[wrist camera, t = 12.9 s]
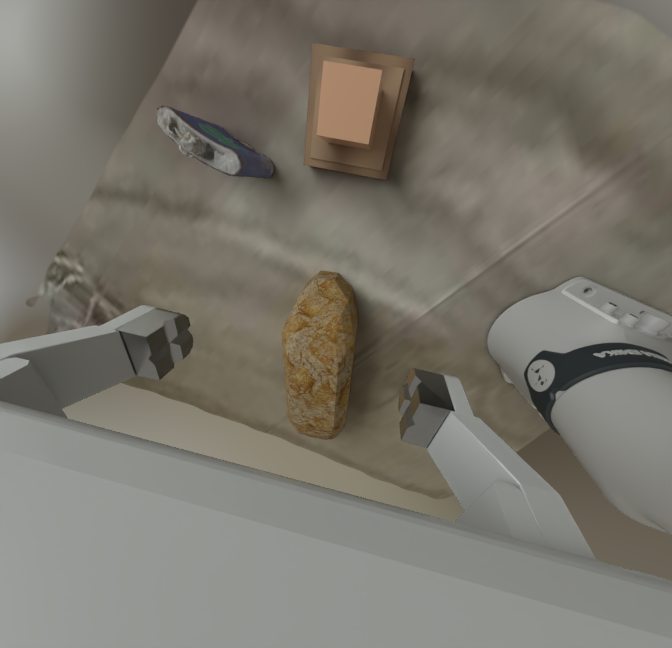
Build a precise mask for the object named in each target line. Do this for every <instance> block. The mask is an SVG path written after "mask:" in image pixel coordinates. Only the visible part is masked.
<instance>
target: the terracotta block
mask: <svg viewBox="0 0 672 648" xmlns="http://www.w3.org/2000/svg"><path fill="white" fill-rule="evenodd" d="M382 90H383V89H382V70H379V69H373V68H366V67H360V66H354V65H348V64H341V63H335V62H329V61H323V71H322V82H321V93H320V104H319V114H318V125H317V136H319V137H320V138H321V139H323V140H324V141H326V142H328V143H333V144H339V145H344V146H350V147H355V148H361V149H366V150H371V147H372V142H373V137H374V131H375V126H376V121H377V116H378V111H379V105H380V100H381V95H382Z"/></svg>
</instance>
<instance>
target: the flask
mask: <svg viewBox="0 0 672 648" xmlns="http://www.w3.org/2000/svg"><path fill="white" fill-rule="evenodd" d="M157 121H158V125H159V127H160V128H161V129H162V131H163V132H164V133H165V134H166V135H167V136H168V137H170V138H171V139H172V140H173V141H174V142H175V143H176V144H178V145H179V149H180V151H181V152H182V153H183V154H184V155H185V156H188V154H190V157H192V158H193V157H194V158H196V159H198V160H199V161H201V162H203V163H204V164H206V165H208V166H210V167H212V168H214V169H216V170H218V171H220V172H223V173H225V174H228V175H232V176H249V177H262V178H268V177H270V176H271V175H272V174H273V172H274V165H273V163H272V161H271V160H270V159H269V158H267V157H266V156H265V155H264V154H259V153H258V152H257V151H255V150H254V148H252V147H251V146H250V145H248V144H247V143H242V142H239V141H238V138H236V137H233V136H231V135H230V133H229V132H228V131H226V130H225V129H224V128H222V127H221V126H220V125H216V124H212V123H210V122H207V121H204V120H202V119H200V118H197V117H194V116H191V115H189V114H186V113H184V112H181V111H178V110H175V109H173V108H171V107H168V106H161V107H160V108H157ZM187 153H188V154H187Z"/></svg>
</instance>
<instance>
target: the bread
mask: <svg viewBox="0 0 672 648" xmlns="http://www.w3.org/2000/svg"><path fill="white" fill-rule="evenodd" d="M357 327H358V314H357V309H356V304H355V299H354V294H353V289H352V286H351V285H350V284H349V283H348V282H347V281H346V280H345V279H344V278H343V277H342V276H341V275H340V274H339V273H336V272H327V271H320V272H319V273H318V274H317V275H316V276H315V277H314V278H313V279H312V280H310V281H309V282H308V284H307V285H306V287H305V288H304V289H303V291H302V292H301V293H300V295H299V297H298V299H297V301H296V303H295V305H294V307H293V309H292V311H291V313H290V315H289V318H288V320H287V322H286V324H285V326H284V328H283V330H282V345H283V359H284V373H285V387H286V401H287V414H288V418H289V420H290V422H291V423H292V425H293V426H294V427H295V429H296V430H297V432H298V433H300V434H303V435H306V436H309V437H314V438H319V439H325V440H327V439H333V438H335V437H336V436H337V435H338V434H339V433H340V432H341V430H342V429H343V428H344V427H345V421H346V415H347V408H348V402H349V395H350V386H351V378H352V369H353V361H354V352H355V344H356V336H357Z"/></svg>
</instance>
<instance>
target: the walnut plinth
mask: <svg viewBox="0 0 672 648" xmlns="http://www.w3.org/2000/svg"><path fill="white" fill-rule="evenodd" d="M414 60H415V59H412V58H405V57H399V56H393V55H386V54H380V53H373V52H367V51H361V50H354V49H348V48H341V47H335V46H329V45H322V44H316V43H313V45H312V59H311V72H310V85H309V99H308V112H307V126H306V139H305V153H304V165H308V166H313V167H318V168H323V169H329V170H334V171H339V172H345V173H350V174H355V175H361V176H366V177H371V178H377V179H382V180H387V176H388V172H389V168H390V163H391V159H392V155H393V150H394V146H395V142H396V138H397V133H398V129H399V125H400V120H401V116H402V112H403V108H404V103H405V99H406V95H407V90H408V86H409V82H410V77H411V73H412V69H413V65H414ZM323 61H329V62H335V63H341V64H348V65H354V66H360V67H366V68H373V69H379V70H382V89H383V90H382V95H381V100H380V105H379V111H378V116H377V121H376V126H375V131H374V137H373V142H372V147H371V150H366V149H361V148H355V147H350V146H344V145H339V144H333V143H328V142H326V141H324V140H323V139H321V138H320V137H319V136H317V125H318V114H319V104H320V93H321V82H322V71H323Z"/></svg>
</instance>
